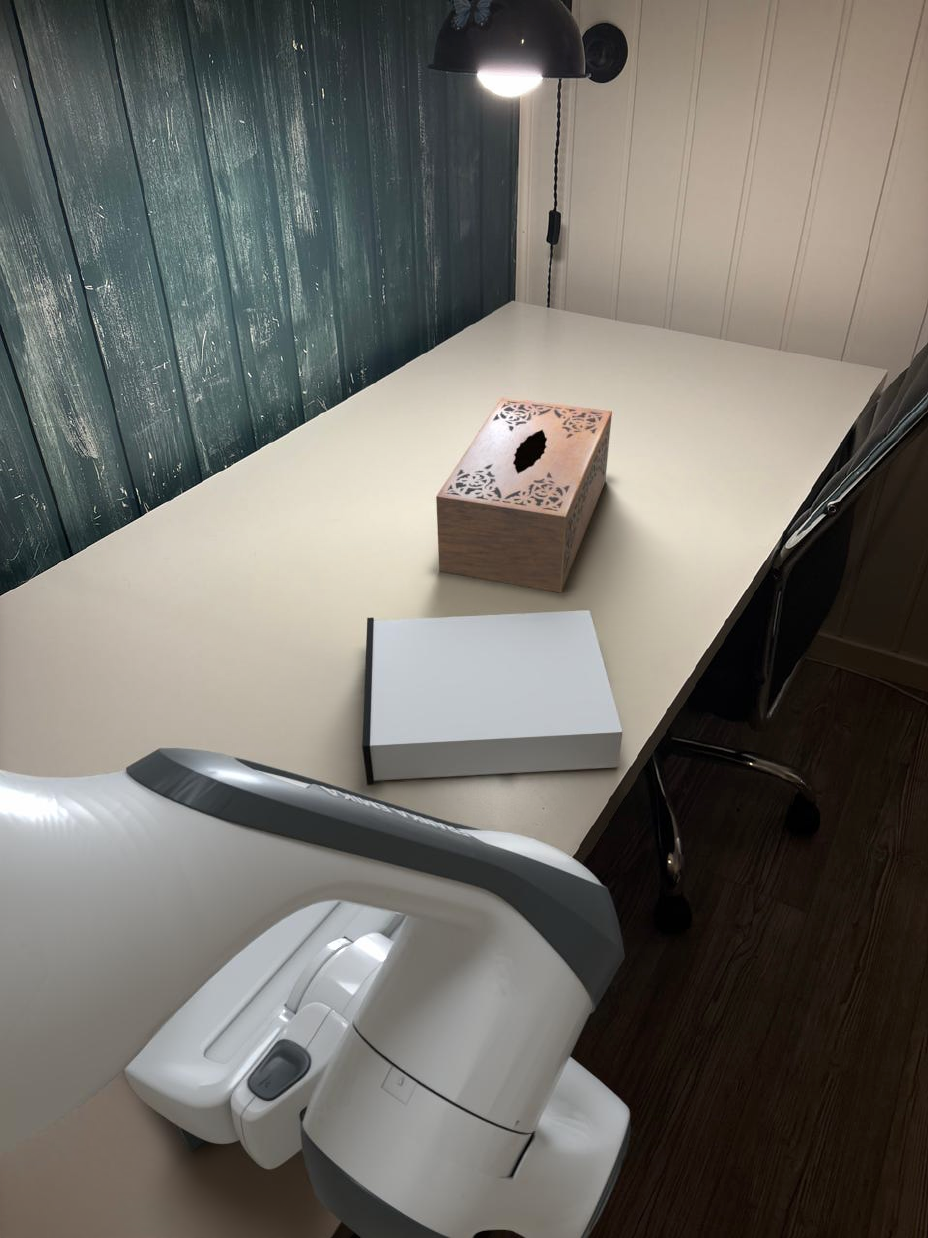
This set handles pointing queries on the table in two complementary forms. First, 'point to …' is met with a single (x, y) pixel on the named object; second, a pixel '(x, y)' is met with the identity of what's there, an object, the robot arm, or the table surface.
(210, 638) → the table surface
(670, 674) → the table surface
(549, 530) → the tissue box cover
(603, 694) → the disc drive
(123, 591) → the table surface
